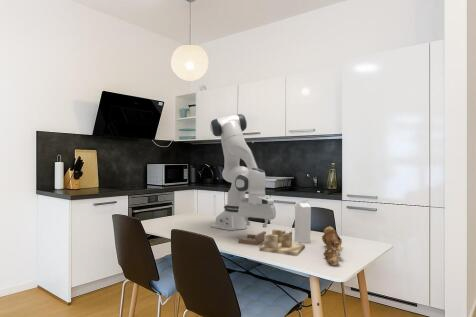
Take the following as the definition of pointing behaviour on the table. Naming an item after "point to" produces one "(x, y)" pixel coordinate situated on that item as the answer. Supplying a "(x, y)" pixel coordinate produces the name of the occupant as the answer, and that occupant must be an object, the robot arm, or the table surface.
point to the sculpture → (332, 245)
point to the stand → (281, 243)
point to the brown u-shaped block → (258, 238)
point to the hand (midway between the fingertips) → (256, 226)
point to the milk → (302, 222)
